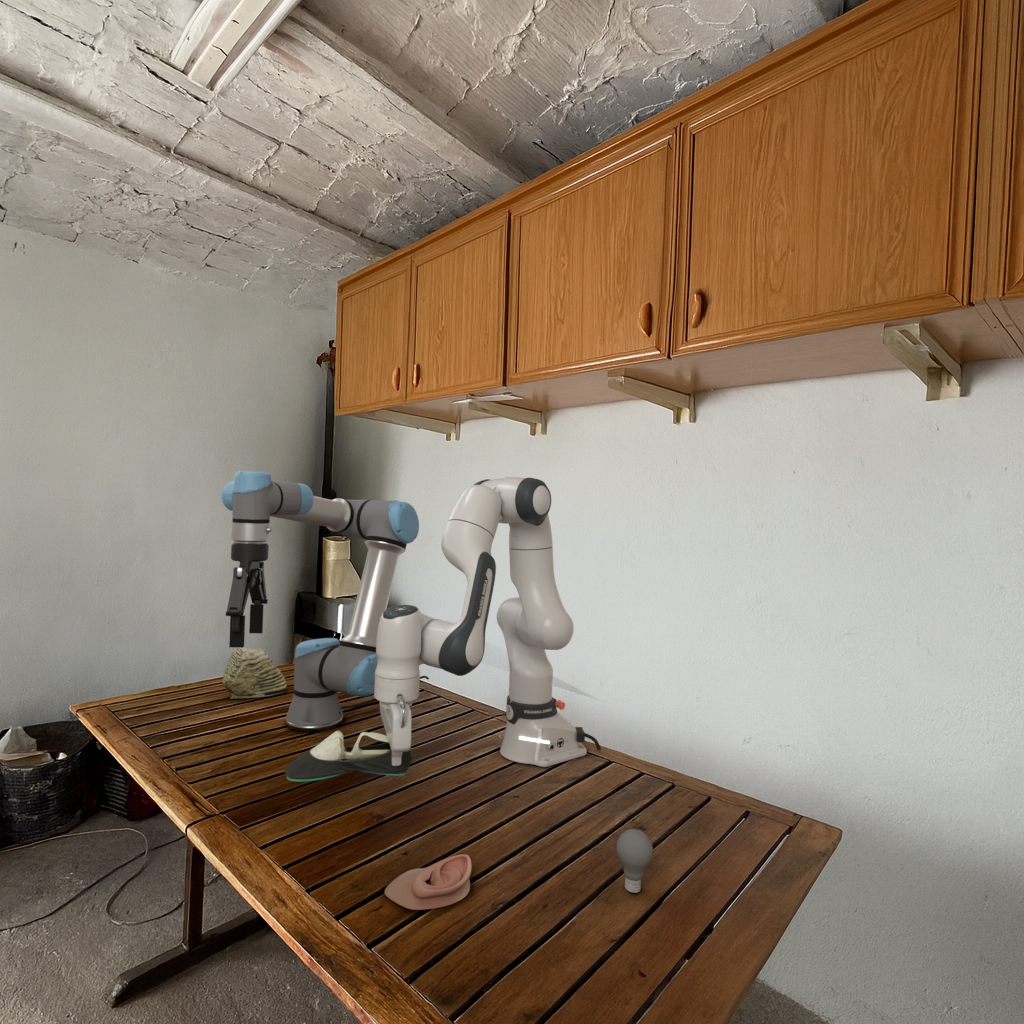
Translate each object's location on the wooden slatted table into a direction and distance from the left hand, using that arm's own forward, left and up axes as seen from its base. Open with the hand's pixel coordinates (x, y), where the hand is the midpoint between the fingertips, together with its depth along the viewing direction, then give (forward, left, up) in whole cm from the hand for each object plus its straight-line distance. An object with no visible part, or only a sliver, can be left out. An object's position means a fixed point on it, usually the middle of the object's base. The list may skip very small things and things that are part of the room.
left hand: (246, 639), depth 138 cm
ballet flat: (-6, +29, -22) cm, 37 cm away
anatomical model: (-1, +57, -31) cm, 65 cm away
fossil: (-33, -54, -31) cm, 71 cm away
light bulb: (-24, +82, -31) cm, 91 cm away
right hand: (-13, +35, -19) cm, 42 cm away
